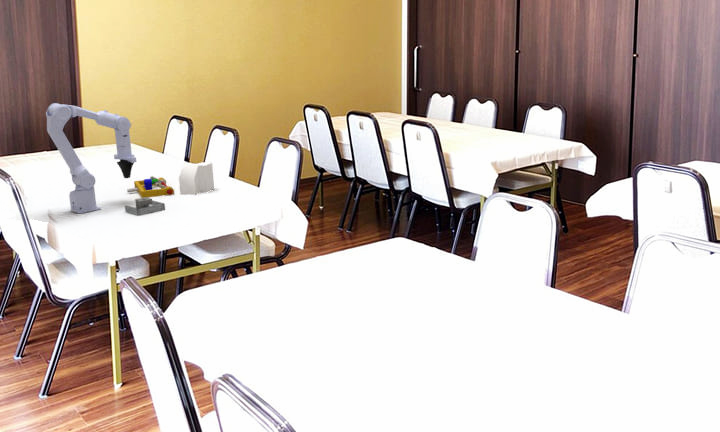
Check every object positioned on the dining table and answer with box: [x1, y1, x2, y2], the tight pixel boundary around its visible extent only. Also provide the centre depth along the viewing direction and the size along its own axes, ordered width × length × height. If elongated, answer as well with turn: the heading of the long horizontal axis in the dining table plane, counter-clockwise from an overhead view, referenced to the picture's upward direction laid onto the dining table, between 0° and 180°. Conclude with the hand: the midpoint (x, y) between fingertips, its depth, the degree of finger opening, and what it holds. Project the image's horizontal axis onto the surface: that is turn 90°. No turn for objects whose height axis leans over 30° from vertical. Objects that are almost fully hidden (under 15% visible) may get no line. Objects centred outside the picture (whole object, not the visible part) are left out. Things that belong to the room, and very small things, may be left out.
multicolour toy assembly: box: [127, 175, 175, 198], centre depth 347 cm, size 18×6×30 cm
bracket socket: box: [124, 199, 166, 216], centre depth 311 cm, size 12×11×3 cm
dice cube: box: [134, 197, 153, 209], centre depth 311 cm, size 5×5×5 cm
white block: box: [178, 162, 215, 195], centre depth 341 cm, size 11×11×12 cm
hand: (127, 177), depth 325 cm, fingers closed
